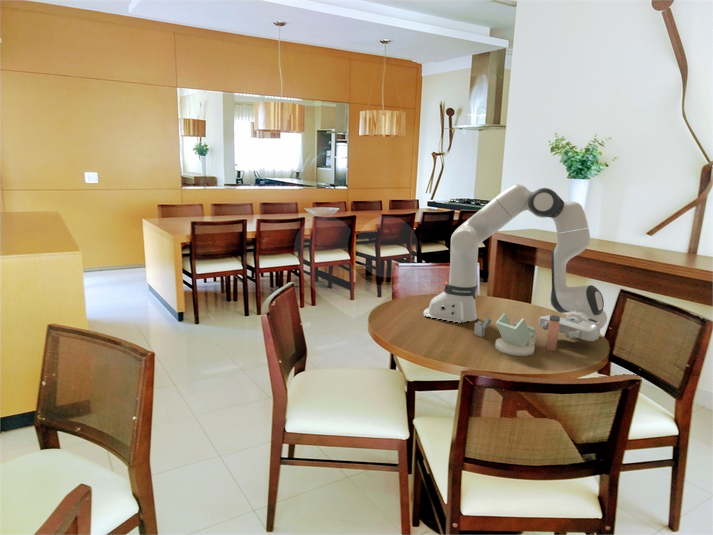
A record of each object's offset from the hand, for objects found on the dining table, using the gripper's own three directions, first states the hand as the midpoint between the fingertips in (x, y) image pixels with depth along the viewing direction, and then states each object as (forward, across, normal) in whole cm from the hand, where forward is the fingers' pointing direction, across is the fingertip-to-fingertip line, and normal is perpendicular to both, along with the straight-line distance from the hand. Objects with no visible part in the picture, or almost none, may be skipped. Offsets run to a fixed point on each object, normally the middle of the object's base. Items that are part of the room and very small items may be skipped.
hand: (555, 331), depth 169 cm
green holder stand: (+12, -7, +6) cm, 15 cm away
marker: (+2, 0, +6) cm, 7 cm away
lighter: (+12, -22, +7) cm, 26 cm away
